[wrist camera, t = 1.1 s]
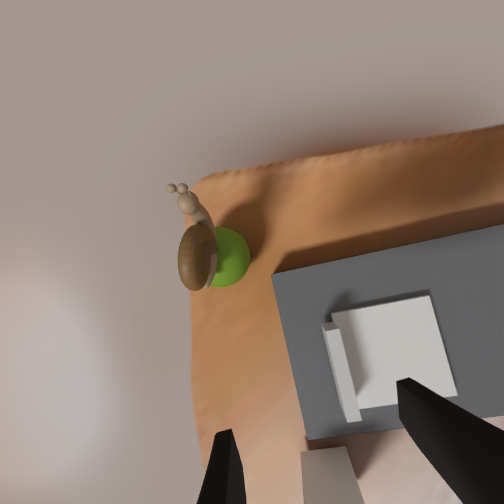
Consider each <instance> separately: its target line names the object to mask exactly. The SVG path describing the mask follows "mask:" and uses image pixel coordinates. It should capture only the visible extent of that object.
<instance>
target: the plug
mask: <svg viewBox="0 0 504 504" xmlns="http://www.w3.org/2000/svg"><path fill="white" fill-rule="evenodd" d="M301 467H302V481H303V495H304V504H364V501H363V498H362V495H361V491H360V488H359V485H358V482H357V479H356V476H355V473H354V470H353V467H352V464H351V461H350V458H349V455H348V452H347V449H346V446H343V447H335V448H327V449H318V450H310V451H302V452H301Z"/></svg>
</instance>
